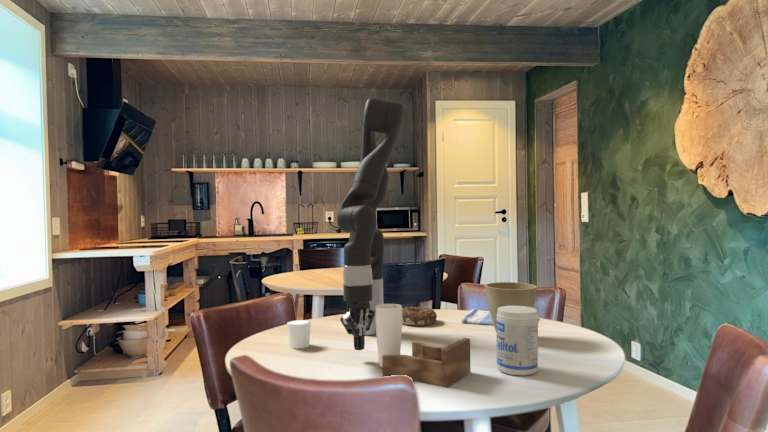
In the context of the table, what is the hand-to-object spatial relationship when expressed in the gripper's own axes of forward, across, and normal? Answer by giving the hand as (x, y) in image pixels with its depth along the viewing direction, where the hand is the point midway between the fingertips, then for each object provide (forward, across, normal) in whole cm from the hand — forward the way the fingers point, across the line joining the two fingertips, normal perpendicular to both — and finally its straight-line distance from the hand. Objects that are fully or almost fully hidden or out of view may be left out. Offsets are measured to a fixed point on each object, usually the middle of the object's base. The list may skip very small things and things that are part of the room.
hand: (359, 349), depth 127 cm
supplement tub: (+4, -12, +38) cm, 40 cm away
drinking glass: (+3, 0, +9) cm, 10 cm away
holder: (+3, 0, +20) cm, 20 cm away
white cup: (+3, -3, -24) cm, 24 cm away
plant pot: (+3, -40, +27) cm, 49 cm away
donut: (+3, -47, -8) cm, 48 cm away
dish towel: (+3, -63, +15) cm, 65 cm away
